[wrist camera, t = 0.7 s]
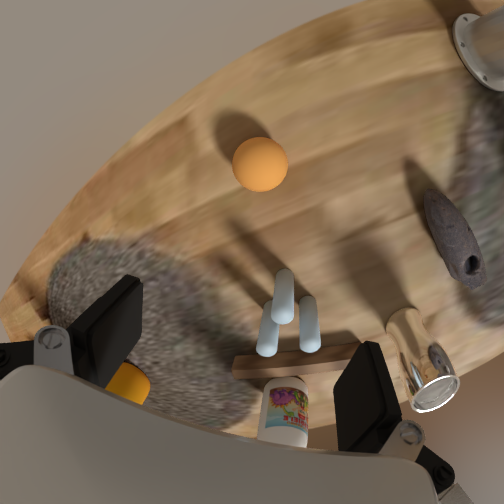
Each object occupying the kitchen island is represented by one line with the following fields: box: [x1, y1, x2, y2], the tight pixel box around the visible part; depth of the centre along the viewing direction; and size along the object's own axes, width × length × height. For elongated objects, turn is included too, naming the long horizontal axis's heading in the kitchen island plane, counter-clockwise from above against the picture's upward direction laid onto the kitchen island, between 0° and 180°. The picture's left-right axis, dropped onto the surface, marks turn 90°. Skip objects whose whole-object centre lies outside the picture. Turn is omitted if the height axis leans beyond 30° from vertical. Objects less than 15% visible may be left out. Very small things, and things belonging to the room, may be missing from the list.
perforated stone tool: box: [424, 189, 487, 290], centre depth 29 cm, size 15×5×7 cm, turn 40°
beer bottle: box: [105, 362, 150, 405], centre depth 37 cm, size 9×9×29 cm
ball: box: [232, 137, 288, 192], centre depth 30 cm, size 6×6×6 cm
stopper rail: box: [231, 342, 361, 379], centre depth 40 cm, size 20×2×4 cm, turn 102°
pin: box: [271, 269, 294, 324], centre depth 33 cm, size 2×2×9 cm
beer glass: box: [386, 307, 460, 412], centre depth 31 cm, size 7×7×15 cm
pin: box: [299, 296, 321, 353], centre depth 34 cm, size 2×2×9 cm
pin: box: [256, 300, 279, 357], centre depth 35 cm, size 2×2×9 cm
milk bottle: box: [257, 376, 308, 448], centre depth 36 cm, size 8×8×20 cm
